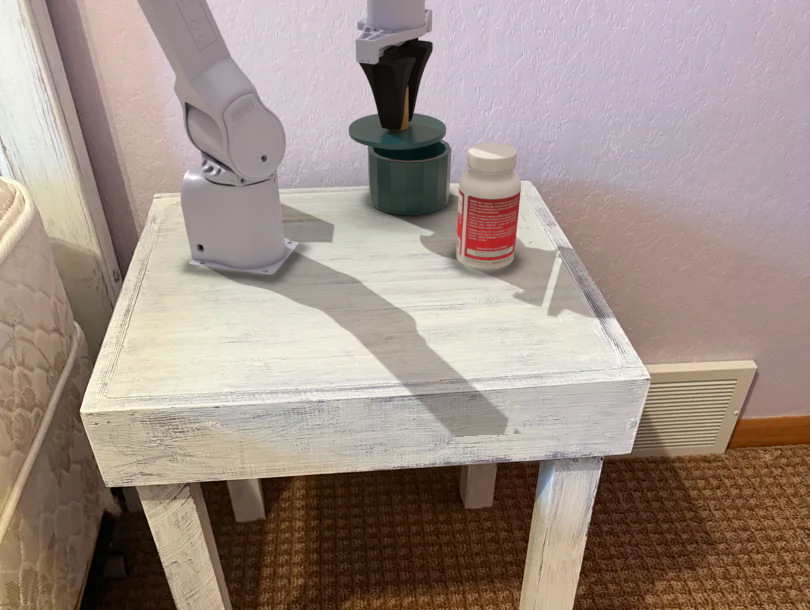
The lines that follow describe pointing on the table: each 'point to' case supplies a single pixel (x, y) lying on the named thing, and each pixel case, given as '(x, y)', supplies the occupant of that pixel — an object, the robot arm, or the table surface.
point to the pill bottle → (488, 207)
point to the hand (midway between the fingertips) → (396, 124)
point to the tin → (410, 178)
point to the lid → (398, 131)
